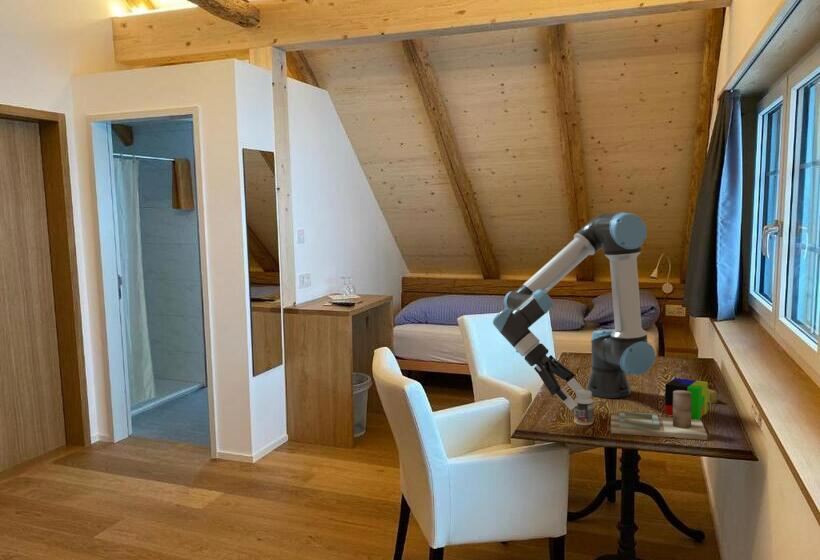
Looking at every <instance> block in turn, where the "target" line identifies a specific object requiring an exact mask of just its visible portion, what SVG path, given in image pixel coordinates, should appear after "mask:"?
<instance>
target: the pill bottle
mask: <svg viewBox="0 0 820 560" xmlns="http://www.w3.org/2000/svg"><path fill="white" fill-rule="evenodd" d="M575 395H576V397H575V399H574V401H575V402H576V403H577V405H576V406H575V407H574V408H573V409H574V411H573V412H574V413H573V414H574V415H573V421H574V423H575V424H576V425H579V426H580V425H581V426H590V425H592V424H593V423H594V400H593V399H592V396H593V395H592V392H591V391H589V390H587V389H584V390H577V391H576V393H575Z"/></svg>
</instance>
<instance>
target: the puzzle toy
mask: <svg viewBox="0 0 820 560" xmlns="http://www.w3.org/2000/svg"><path fill="white" fill-rule="evenodd" d="M708 383H709V382H708V381H701V380H694V379H687V378H679V377H674V378H673V379H671V380H669V382H667V383H665V387H664V388H665V389H664V390H665V394H664V395H665V397H664V398H665V399H664V400H665V401H664V403H665V404H664V405H665V407H664V415H665V414H668V415H667V416H669V415H673V391H676V390H684V391H689V392H691V393H692V399H691V419H696V420H701V419H702V418H703V417H704V416H703V415H706V414H708V402H707V394H708V389H709V388H708V385H709V384H708ZM702 416H703V417H702Z"/></svg>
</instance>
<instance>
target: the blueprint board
mask: <svg viewBox="0 0 820 560" xmlns="http://www.w3.org/2000/svg"><path fill="white" fill-rule="evenodd" d="M691 399H692V393H691V392H689V391H684V390H676V391H673V416H672V417H662V416H661V417H660V416H658V413H650V412H633V411H619V412H618V414H615V413H611V414H610V434H616V435H617V434H618V435H630V436H632V435H633V436H643V435H644V436H645V437H646V436H647V437H657V438H671V437H675V438H676V439H686V440H687V439H690V440H699V441H702V440H703V441H708V433H707V431H706V429H705V427H704V424H703V422H702V419H699V420H695V419H691ZM644 436H643V437H644ZM675 438H674V439H675Z"/></svg>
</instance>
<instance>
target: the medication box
mask: <svg viewBox="0 0 820 560" xmlns="http://www.w3.org/2000/svg"><path fill="white" fill-rule="evenodd" d="M707 403H709V404H716V403H718V392H717V391H715V390H713V389H710V388H708V394H707Z"/></svg>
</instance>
